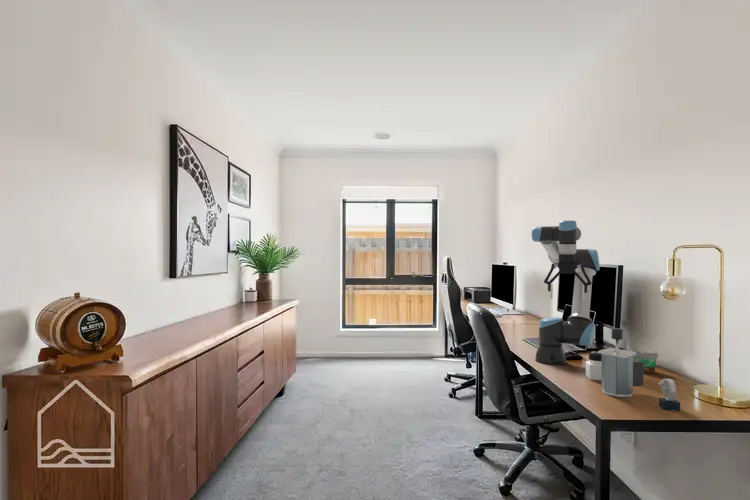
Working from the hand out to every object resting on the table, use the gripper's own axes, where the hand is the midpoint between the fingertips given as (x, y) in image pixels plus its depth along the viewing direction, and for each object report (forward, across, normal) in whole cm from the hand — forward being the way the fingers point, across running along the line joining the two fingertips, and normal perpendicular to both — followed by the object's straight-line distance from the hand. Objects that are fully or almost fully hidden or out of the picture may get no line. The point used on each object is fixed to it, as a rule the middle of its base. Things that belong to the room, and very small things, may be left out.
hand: (567, 299), depth 203 cm
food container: (+37, +35, +27) cm, 58 cm away
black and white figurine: (+37, +12, +6) cm, 39 cm away
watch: (+37, +36, -26) cm, 58 cm away
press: (+37, +21, -13) cm, 44 cm away
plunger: (+33, +19, -15) cm, 41 cm away
